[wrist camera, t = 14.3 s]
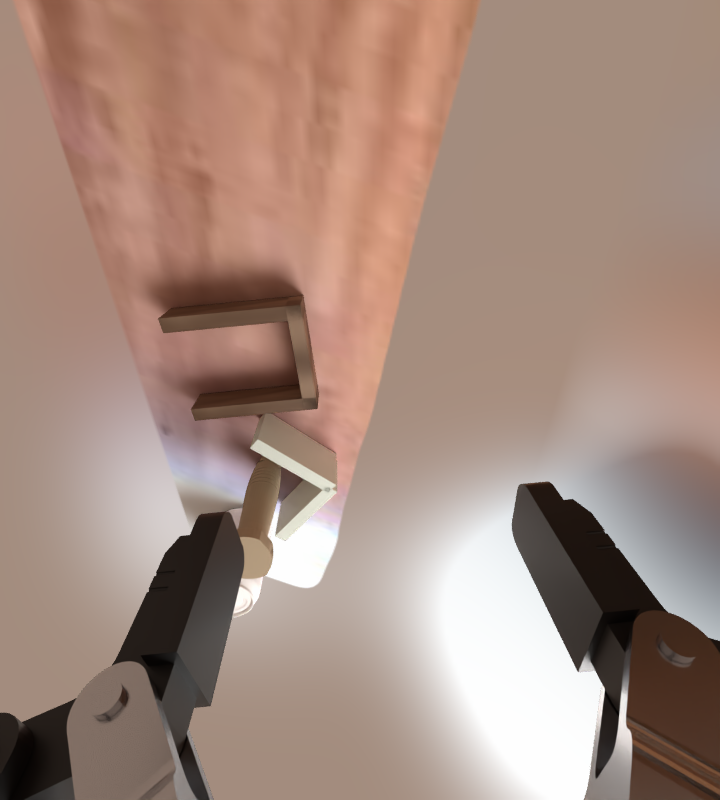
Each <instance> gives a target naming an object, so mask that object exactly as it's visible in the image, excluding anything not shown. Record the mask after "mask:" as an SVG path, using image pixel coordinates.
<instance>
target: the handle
mask: <svg viewBox="0 0 720 800" xmlns="http://www.w3.org/2000/svg"><path fill="white" fill-rule="evenodd" d="M280 471H281V466H280V465H278V464H277V463H275V462H273V461H271V460H270V459H268V458H266V457H264V456H262V457H261V458H260V461H259V462H258V463H257V465H256V467H255V469H254V471H253V473H252V475H251V478H250V480H249V483H248V486H247V490H246V494H245V498H244V503H243V508H242V513H241V517H240V522H239V526H238V529H237V531H238V534H239V537H240V540H241V543H242V545H243V549H244V570H243V574H242V578H243V579H255V578H260V577H263V576H265V575H266V574H267V573H268V571H269V569H270V567H271V564H272V559H273V544H272V542H271V540H270V539H269V538H268V533H269V529H270V526H271V522H272V518H273V514H274V511H275V507H276V503H277V500H278V495H279V489H280V480H281V472H280Z"/></svg>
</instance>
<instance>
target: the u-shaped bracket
mask: <svg viewBox="0 0 720 800" xmlns="http://www.w3.org/2000/svg"><path fill="white" fill-rule="evenodd" d="M158 320H159V322H160V325H161V328H162V331H163V333H171V332H181V331H191V330H202V329H212V328H222V327H233V326H243V325H254V324H264V323H274V322H285V321H288V324H289V330H290V335H291V341H292V346H293V351H294V357H295V362H296V368H297V373H298V378H299V384H300V385H291V386H280V387H270V388H260V389H249V390H239V391H229V392H218V393H208V394H201V395H200V396H199V398H198V399H197V401H196V402H195V404H194V406H193V407H192V409H191V411H192V414H193V416H194V419H195V421H197V420H207V419H217V418H228V417H238V416H248V415H259V414H269V413H279V412H290V411H300V410H310V409H317V408H318V397H319V392H318V385H317V379H316V373H315V366H314V360H313V354H312V347H311V341H310V335H309V329H308V322H307V316H306V310H305V303H304V297H303V296H293V297H282V298H272V299H262V300H251V301H241V302H230V303H220V304H210V305H199V306H189V307H179V308H171V309H170V310H169V311H167V312H166V313H165V314H163V315H162V316H161V317H160V318H158Z"/></svg>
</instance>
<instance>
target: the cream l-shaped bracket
mask: <svg viewBox="0 0 720 800" xmlns="http://www.w3.org/2000/svg"><path fill="white" fill-rule="evenodd" d="M250 449H252V450H254V451H256V452H257V453H259V454H261V455H263V456H264V457H266V458H268V459H270V460H271V461H273V462H275V463H277V464H278V465H280V466H282V467H284V468H285V469H287V470H289V471H291V472H292V473H294V474H296V475H298V476H299V477H301V478H303V479H304V480H303V481H302V482H301V483H300V484H299V485H298V486H297V487H296V488H295V489H294V490H293V491H292V492H291V493H290V494H289V495H288V496H287V497H286V498H285V499H284V500H283V501H282V502H281V506H280V511H279V517H278V523H277V528H276V534H275V536H276V537H278V538H280V539H282V540H284V541H286V540H287V539H288V538H289V537H290V536H291V535H292V534H293V533H294V532H295V531H296V530H298V529H299V528H300V527H301V526H302V525H303V524H304V523H305V522H306V521H307V520H308V519H309V518H310V517H311V516H312V515H313V514H314V513H315V512H317V511H318V510H319V509H320V508H321V507H322V506H323V505H324V504H325V503H326V502H327V501H328V500H329V499H330V498H331V497H332V496H333V495H335V494H336V493H337V460H336V453H334V452H332V451H331V450H329V449H328V448H326V447H324V446H323V445H321V444H320V443H318V442H316V441H315V440H313V439H311V438H310V437H308V436H307V435H305V434H303V433H302V432H300V431H299V430H297V429H295V428H294V427H292V426H291V425H289V424H287V423H286V422H284V421H283V420H281V419H279V418H278V417H276V416H275V415H273V414H271V413H269V414H263V416H262V417H261V418H260V419H259V422H258V425H257V428H256V431H255V434H254V437H253V441H252V444H251V447H250Z"/></svg>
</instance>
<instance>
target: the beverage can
mask: <svg viewBox="0 0 720 800" xmlns="http://www.w3.org/2000/svg"><path fill="white" fill-rule="evenodd" d="M226 512H230V513H231V515H232V517H233V520H234V523H235V526H236V529H238V526H239V522H240V517H241V513H242V508H237V509H232V510H229V511H226ZM271 532H272V527H271V526H270V529H269V533H268V538H269V539H270V537H271ZM262 579H263V577H260V578H255V579H243V578H241V582H240V587H239V591H238V595H237V599H236V603H235V607H234V611H233V615H232V617H238V616H241V615H244V614H246V613H247V612H249V611H250V610H251V609H252V607H253V604H254V603H255V602H256V601H257V599H258V597H259V595H260V589H261V585H262Z"/></svg>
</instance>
